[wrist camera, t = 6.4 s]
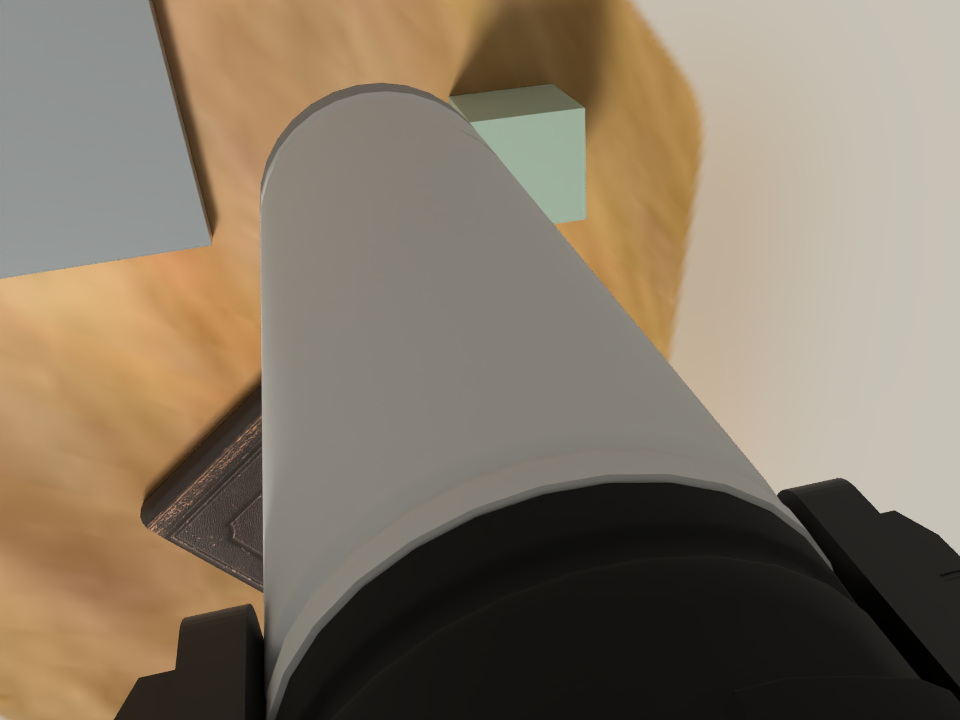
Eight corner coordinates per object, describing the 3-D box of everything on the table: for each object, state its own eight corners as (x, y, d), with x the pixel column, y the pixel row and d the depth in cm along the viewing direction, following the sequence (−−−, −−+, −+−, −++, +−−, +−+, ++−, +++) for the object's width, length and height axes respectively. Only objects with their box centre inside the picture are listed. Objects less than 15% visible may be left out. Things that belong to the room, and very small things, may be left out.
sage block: (448, 95, 41) (469, 122, 37) (552, 83, 42) (584, 107, 37) (457, 199, 43) (478, 234, 39) (555, 185, 44) (586, 219, 40)
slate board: (-263, -55, 33) (-277, -53, 32) (127, -95, 34) (124, -94, 34) (-104, 287, 40) (-112, 296, 39) (212, 237, 42) (211, 245, 41)
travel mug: (524, 95, 23) (1296, 758, 6) (464, 320, 26) (870, 1209, 9) (280, 41, 21) (380, 791, 4) (245, 291, 24) (216, 1354, 7)
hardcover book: (626, 379, 51) (641, 399, 49) (356, 620, 56) (360, 647, 54) (437, 200, 44) (445, 216, 42) (142, 497, 48) (137, 524, 46)
